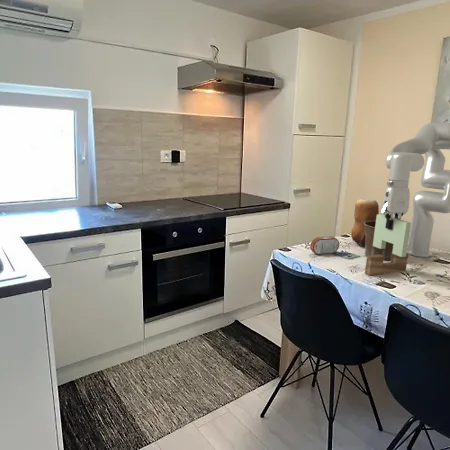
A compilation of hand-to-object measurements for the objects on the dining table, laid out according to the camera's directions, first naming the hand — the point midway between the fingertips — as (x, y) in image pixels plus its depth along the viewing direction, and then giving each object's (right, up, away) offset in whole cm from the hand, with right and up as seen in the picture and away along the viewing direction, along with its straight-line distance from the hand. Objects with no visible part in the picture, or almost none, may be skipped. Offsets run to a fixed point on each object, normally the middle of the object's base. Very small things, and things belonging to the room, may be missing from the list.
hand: (391, 228), depth 153 cm
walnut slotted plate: (-1, -19, +5) cm, 19 cm away
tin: (-20, -13, +28) cm, 37 cm away
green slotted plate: (0, -9, +2) cm, 10 cm away
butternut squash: (+4, -10, +44) cm, 45 cm away
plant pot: (+5, -14, +26) cm, 30 cm away
